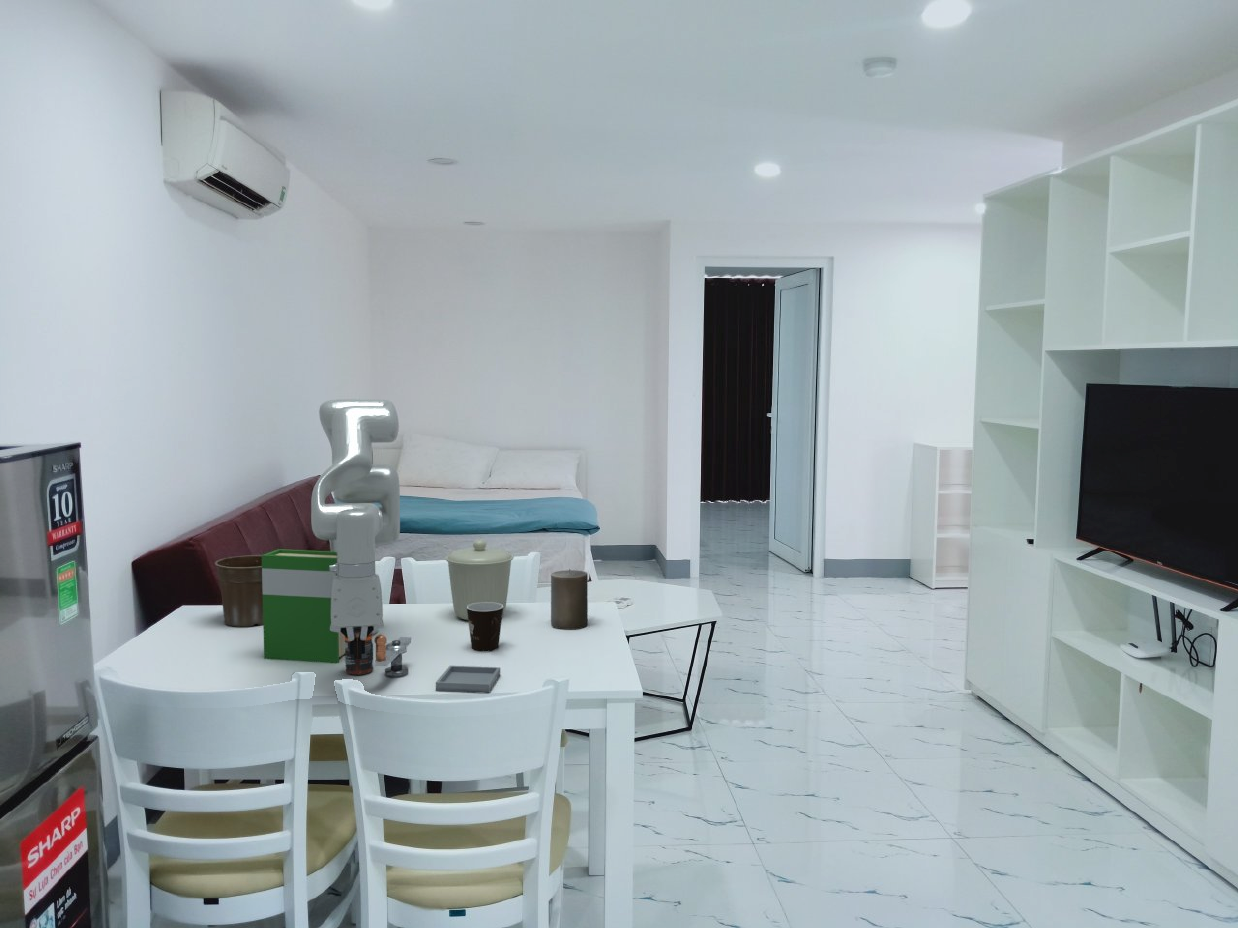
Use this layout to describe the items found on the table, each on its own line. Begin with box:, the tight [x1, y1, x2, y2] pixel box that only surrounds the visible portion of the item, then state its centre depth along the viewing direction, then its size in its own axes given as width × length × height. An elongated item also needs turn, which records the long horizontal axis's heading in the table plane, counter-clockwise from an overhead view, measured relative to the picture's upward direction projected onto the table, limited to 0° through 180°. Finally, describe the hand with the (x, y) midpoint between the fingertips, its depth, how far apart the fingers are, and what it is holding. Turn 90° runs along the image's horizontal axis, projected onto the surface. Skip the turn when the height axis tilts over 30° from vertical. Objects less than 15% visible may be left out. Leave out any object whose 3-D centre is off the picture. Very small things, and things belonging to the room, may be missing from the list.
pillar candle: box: [550, 568, 589, 630], centre depth 243 cm, size 10×10×15 cm
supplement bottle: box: [344, 627, 375, 676], centre depth 203 cm, size 6×6×11 cm
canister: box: [444, 538, 515, 621], centre depth 250 cm, size 18×18×21 cm
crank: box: [374, 634, 412, 667], centre depth 200 cm, size 18×4×7 cm, turn 176°
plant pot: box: [214, 554, 263, 628], centre depth 242 cm, size 16×16×16 cm
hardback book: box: [261, 548, 345, 664], centre depth 213 cm, size 18×7×24 cm, turn 81°
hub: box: [384, 654, 409, 679], centre depth 202 cm, size 5×5×5 cm
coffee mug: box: [467, 602, 504, 653], centre depth 221 cm, size 12×9×10 cm
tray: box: [435, 665, 501, 694], centre depth 197 cm, size 11×11×2 cm
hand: (357, 657), depth 191 cm, fingers closed
